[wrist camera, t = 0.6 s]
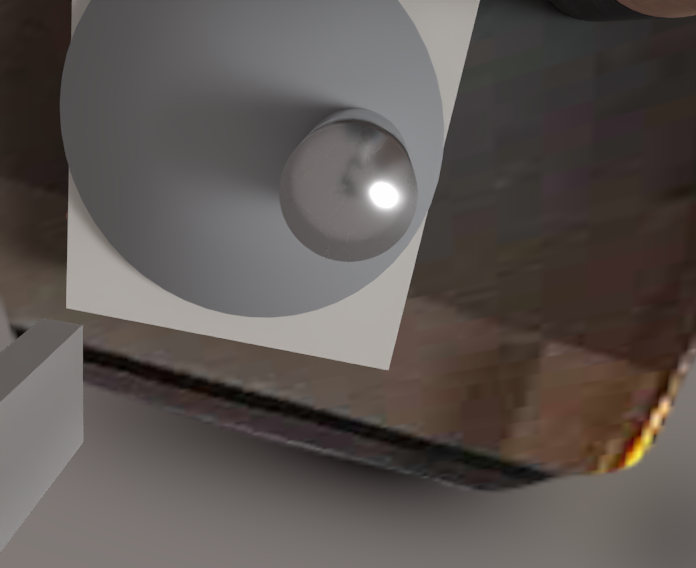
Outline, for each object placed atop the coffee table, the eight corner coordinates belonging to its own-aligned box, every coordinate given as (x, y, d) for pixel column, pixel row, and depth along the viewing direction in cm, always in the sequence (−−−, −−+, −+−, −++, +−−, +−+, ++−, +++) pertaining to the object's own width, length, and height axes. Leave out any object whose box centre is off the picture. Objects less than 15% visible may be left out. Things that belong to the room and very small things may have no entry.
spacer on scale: (311, 97, 27) (290, 112, 20) (419, 119, 27) (432, 140, 21) (294, 204, 29) (270, 247, 22) (395, 224, 29) (400, 273, 22)
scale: (112, -90, 30) (51, -123, 24) (470, -15, 30) (490, -31, 25) (98, 274, 37) (48, 313, 32) (387, 331, 38) (388, 379, 32)
